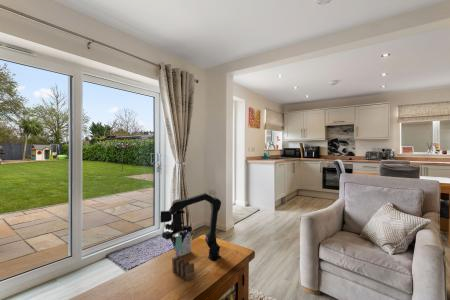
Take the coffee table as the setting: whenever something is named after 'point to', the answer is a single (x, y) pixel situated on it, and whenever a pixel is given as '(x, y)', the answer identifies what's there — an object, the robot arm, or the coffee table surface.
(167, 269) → the coffee table surface
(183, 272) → the domino
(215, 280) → the coffee table surface
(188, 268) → the domino
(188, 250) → the ink cartridge box
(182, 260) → the domino
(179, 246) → the domino
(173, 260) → the domino
